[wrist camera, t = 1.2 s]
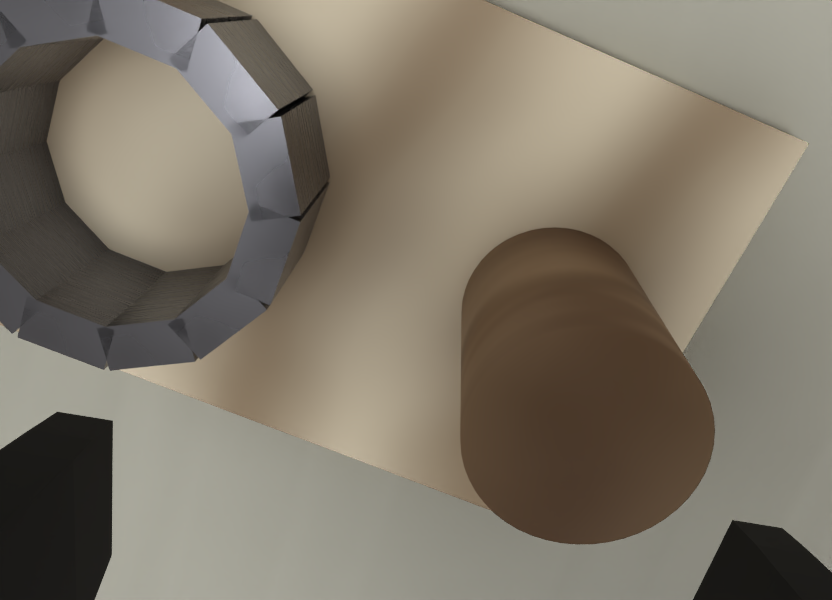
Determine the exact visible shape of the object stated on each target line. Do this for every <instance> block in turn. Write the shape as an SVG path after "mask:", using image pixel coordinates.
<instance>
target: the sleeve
mask: <svg viewBox="0 0 832 600" xmlns="http://www.w3.org/2000/svg"><path fill="white" fill-rule="evenodd" d="M251 18H252V15H250V14H248V13H245V12H243V11H241V10H238V9H236V8H234V7H231V6H229V5H227V4H224V3H222V2H220V1H217V0H0V322H1V323H2V324H3V325H4V326H5V327H6V328H7V329H8V330H9V331H10V332H11V333H14V332H15V331H16V330H18V329H19V328H20V329H19V333H18V338H21V339H24V340H26V341H29V342H32V343H34V344H37V345H40V346H42V347H45V348H48V349H50V350H53V351H56V352H58V353H61V354H64V355H66V356H69V357H71V358H74V359H77V360H79V361H82V362H85V363H87V364H90V365H93V366H95V367H98V368H101V369H103V370H104V369H105V368H106V367H107V366H109V369H110V371H111V370H120V369H130V368H140V367H150V366H159V365H169V364H179V363H189V362H195V361H196V360H197V359H198V358H199V359H200V360H201V359H202V358H204V357H205V356H206V355H208V354H209V353H210V352H212V351H213V350H214V349H216V348H217V347H218V346H220V345H221V344H222V343H224V342H225V341H226V340H228V339H229V338H230V337H232V336H233V335H234V334H236V333H237V332H238V331H240V330H241V329H242V328H244V327H245V326H246V325H248V324H249V323H250V322H252V321H253V320H254V319H256V318H257V317H258V316H259V315H261V314H262V313H263V312H265V311H266V310H267V309H268V307H269V306H270V305H271V303H272V302H273V300H274V299H275V297H276V296H277V294H278V293H279V291H280V289H281V288H282V286H283V285H284V283H285V282H286V280H287V278H288V277H289V275H290V274H291V272H292V271H293V269H294V268H295V266H296V264H297V263H298V261H299V260H300V258H301V257H302V255H303V254H304V251H305V249H306V246H307V243H308V241H309V238H310V235H311V232H312V230H313V227H314V224H315V222H316V219H317V216H318V213H319V211H320V208H321V205H322V202H323V200H324V197H325V194H326V192H327V189H328V186H329V183H330V182H327V181H328V179H329V178H330V173H329V167H328V162H327V156H326V150H325V145H324V139H323V134H322V128H321V123H320V117H319V112H318V106H317V101H316V95H313V96H306V95H307V94H308V93H310V92H311V91H312V90H313V89H312V88H311V86H310V85H309V84H308V83H307V81H306V80H305V79H304V78H303V76H302V75H301V74H300V73H299V71H298V70H297V69H296V68H295V66H294V65H293V64H292V62H291V61H290V60H289V59H288V57H287V56H286V55H285V54H284V52H283V51H282V50H281V49H280V47H279V46H278V45H277V44H276V42H275V41H274V40H273V38H272V37H271V36H270V35H269V33H268V32H267V31H266V30H265V28H264V27H263V26H262V25H261V23H260V22H259V21H258V20H257V19H255V20H251ZM103 39H107V40H109V41H111V42H114V43H116V44H119V45H121V46H123V47H126V48H128V49H131V50H133V51H135V52H138V53H140V54H143V55H145V56H147V57H150V58H152V59H155V60H157V61H159V62H162V63H164V64H167V65H169V66H172V67H174V68H176V69H177V70H178V71H179V73H180V74H181V75H182V76H183V77H184V78H185V80H186V81H187V82H188V83H189V84H190V86H191V87H192V88H193V89H194V90H195V92H196V93H197V94H198V95H199V96H200V98H201V99H202V100H203V101H204V102H205V103H206V105H207V106H208V107H209V108H210V109H211V111H212V112H213V113H214V114H215V115H216V117H217V118H218V119H219V120H220V121H221V122H222V124H223V125H224V126H225V127H226V128H227V130H228V131H229V132H230V133H231V134H232V139H233V143H234V148H235V152H236V157H237V161H238V166H239V170H240V175H241V179H242V184H243V188H244V193H245V197H246V202H247V206H248V211H249V212H248V215H247V218H246V221H245V224H244V227H243V230H242V233H241V237H240V240H239V243H238V246H237V249H236V252H235V255H234V258H232V259H231V260H230V261H229V262H227V263H226V264H225V265H221V266H212V267H203V268H195V269H186V270H178V271H169V272H166V271H163V270H161V269H158V268H156V267H153V266H151V265H148V264H145V263H143V262H140V261H138V260H135V259H133V258H130V257H128V256H125V255H122V254H120V253H117V252H115V251H112V250H110V249H109V248H108V247H107V246H106V245H105V244H104V243H103V242H102V241H101V240H100V239H99V238H98V237H97V236H96V235H95V234H94V232H93V231H92V230H91V229H90V228H89V227H88V226H87V225H86V224H85V223H84V222H83V221H82V220H81V219H80V217H79V216H78V215H77V214H76V213H75V212H74V211H73V210H72V209H71V208H70V207H69V206H68V205H67V204H66V202H65V199H64V196H63V193H62V190H61V186H60V183H59V180H58V177H57V173H56V170H55V167H54V164H53V160H52V157H51V154H50V151H49V147H48V144H47V137H48V132H49V128H50V123H51V119H52V114H53V109H54V105H55V100H56V96H57V91H58V86H59V82H60V80H61V79H62V78H63V77H64V76H65V75H66V74H67V73H68V72H69V71H70V70H72V69H73V68H74V67H75V66H76V65H77V64H78V63H79V62H80V61H81V60H82V59H83V58H84V57H85V56H86V55H87V54H88V53H89V52H90V51H91V50H93V49H94V48H95V47H96V46H97V45H98V44H99V43H100V42H101V41H102V40H103ZM305 96H306V97H305Z"/></svg>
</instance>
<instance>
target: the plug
mask: <svg viewBox="0 0 832 600" xmlns="http://www.w3.org/2000/svg"><path fill="white" fill-rule="evenodd" d="M714 434H715V428H714V416H713V412H712V408H711V403H710V401H709V398H708V396H707V393H706V391H705V389H704V387H703V385H702V384H701V382H700V380H699V379H698V377H697V375H696V374H695V372H694V371H693V369H692V367H691V366H690V364H689V363H688V361H687V359H686V358H685V356H684V355H683V353H682V351H681V350H680V348H679V347H678V345H677V343H676V342H675V340H674V338H673V337H672V335H671V334H670V332H669V330H668V329H667V327H666V326H665V324H664V322H663V321H662V319H661V318H660V316H659V314H658V313H657V311H656V310H655V308H654V306H653V305H652V303H651V301H650V300H649V298H648V297H647V295H646V293H645V292H644V290H643V289H642V287H641V285H640V284H639V282H638V281H637V279H636V277H635V276H634V274H633V272H632V271H631V269H630V268H629V266H628V264H627V263H626V262H625V260H624V259H623V258H622V257H621V256H620V254H619V253H618V252H617V251H615V250H614V249H613V248H612V247H611V246H610V245H608V244H607V243H605V242H604V241H602V240H601V239H599V238H597V237H595V236H593V235H591V234H588V233H585V232H582V231H579V230H574V229H569V228H557V227H553V228H540V229H535V230H530V231H527V232H524V233H520V234H518V235H516V236H513V237H511V238H509V239H507V240H506V241H504V242H502V243H501V244H499V245H498V246H496V247H495V248H494V249H493V250H491V251H490V252H489V253H488V254H487V255H486V256H485V257H484V258H483V259H482V260H481V261H480V263H479V264H478V266H477V267H476V268H475V270H474V271H473V273H472V275H471V277H470V279H469V281H468V283H467V286H466V289H465V292H464V296H463V300H462V312H461V409H460V444H461V455H462V460H463V464H464V468H465V471H466V473H467V476H468V479H469V481H470V482H471V484H472V486H473V488H474V490H475V492H476V493H477V494H478V496H479V497H480V498H481V499H482V501H483V502H484V503H485V504H486V505H487V506H488V507H489V508H490V509H491V510H492V511H493V512H494V513H495V514H496V515H497V516H499V517H500V518H501V519H502V520H504V521H505V522H507V523H508V524H510V525H512V526H513V527H515V528H517V529H518V530H521V531H523V532H525V533H527V534H530V535H532V536H535V537H538V538H542V539H545V540H549V541H554V542H559V543H567V544H597V543H605V542H611V541H615V540H619V539H624V538H626V537H629V536H632V535H635V534H638V533H640V532H642V531H644V530H646V529H649V528H651V527H653V526H654V525H656V524H658V523H659V522H661V521H662V520H664V519H666V518H667V517H668V516H669V515H671V514H672V513H673V512H674V511H676V510H677V509H678V508H679V507H680V506H681V505H682V504H683V503H684V502H685V501H686V500H687V499H688V498H689V497H690V495H691V494H692V493H693V491H694V490H695V489H696V487H697V486H698V484H699V483H700V481H701V479H702V477H703V476H704V474H705V472H706V469H707V467H708V464H709V462H710V459H711V455H712V450H713V446H714Z"/></svg>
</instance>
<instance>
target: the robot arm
mask: <svg viewBox="0 0 832 600" xmlns="http://www.w3.org/2000/svg"><path fill="white" fill-rule="evenodd" d="M112 441H113V421H111V420H105V419H99V418H92V417H86V416H80V415H74V414H67V413H61V412H56V413H55V414H53V415H52V416H50V417H49V418H47V419H46V420H44V421H43V422H41V423H40V424H38V425H36V426H35V427H33V428H32V429H30V430H29V431H27V432H26V433H24V434H23V435H21V436H20V437H18V438H17V439H15V440H14V441H12V442H11V443H9V444H8V445H6V446H5V447H4V448H2V449H1V450H0V600H95V597H96V594H97V592H98V589H99V587H100V584H101V582H102V579H103V576H104V574H105V571H106V569H107V566H108V563H109V561H110V558H111V556H112ZM693 600H832V572H831V571H830V570H828V569H827V568H826V567H825V566H824V565H823V564H822V563H821V562H820V561H819V560H818V559H817V558H816V557H814V556H813V555H812V554H811V553H810V552H809V551H808V550H807V549H806V548H805V547H803V546H802V545H801V544H800V543H799V542H798V541H797V540H795V539H794V538H793V537H792V536H791V535H790V534H788V533H787V532H786V531H785V530H784V529H782V528H778V527H772V526H765V525H759V524H753V523H747V522H740V521H734V520H732V522H731V524H730V526H729V528H728V530H727V532H726V534H725V536H724V538H723V540H722V542H721V544H720V546H719V548H718V550H717V552H716V554H715V556H714V558H713V561H712V563H711V565H710V567H709V569H708V571H707V573H706V575H705V577H704V579H703V581H702V583H701V585H700V587H699V589H698V591H697V593H696V595H695V597H694V599H693Z"/></svg>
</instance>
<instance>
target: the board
mask: <svg viewBox="0 0 832 600" xmlns="http://www.w3.org/2000/svg"><path fill="white" fill-rule="evenodd" d="M217 1H220V2H222V3H224V4H227V5H229V6H231V7H234V8H236V9H238V10H241V11H243V12H245V13H248V14H250V15H252V18H251V20H255V19H257V20H258V21H259V22H260V23H261V25H262V26H263V27H264V28H265V30H266V31H267V32H268V33H269V35H270V36H271V37H272V38H273V40H274V41H275V42H276V44H277V45H278V46H279V47H280V49H281V50H282V51H283V52H284V54H285V55H286V56H287V57H288V59H289V60H290V61H291V62H292V64H293V65H294V66H295V68H296V69H297V70H298V71H299V73H300V74H301V75H302V76H303V78H304V79H305V80H306V81H307V83H308V84H309V85H310V86H311V88H312V89H313V90H312V91H311V92H310V93H308V94H307V95H306V96H313V95H316V101H317V106H318V112H319V117H320V123H321V128H322V134H323V139H324V145H325V150H326V156H327V162H328V167H329V173H330V178H329V179H328V181H327V182H330V183H329V186H328V189H327V192H326V194H325V197H324V200H323V202H322V205H321V208H320V211H319V213H318V216H317V219H316V222H315V224H314V227H313V230H312V232H311V235H310V238H309V241H308V243H307V246H306V249H305V251H304V254H303V255H302V257H301V258H300V260H299V261H298V263H297V264H296V266H295V268H294V269H293V271H292V272H291V274H290V275H289V277H288V278H287V280H286V282H285V283H284V285H283V286H282V288H281V289H280V291H279V293H278V294H277V296H276V297H275V299H274V300H273V302H272V303H271V305H270V306H269V307H268V309H267V310H266V311H265V312H263V313H262V314H261V315H259V316H258V317H257V318H256V319H254V320H253V321H252V322H250V323H249V324H248V325H246V326H245V327H244V328H242V329H241V330H240V331H238V332H237V333H236V334H234V335H233V336H232V337H230V338H229V339H228V340H226V341H225V342H224V343H222V344H221V345H220V346H218V347H217V348H216V349H214V350H213V351H212V352H210V353H209V354H208V355H206V356H205V357H204V358H202V359H201V360H200V359H199V358H198V359H197V360H196V361H195V362H189V363H179V364H169V365H159V366H150V367H140V368H130V369H120V370H121V371H124V372H126V373H129V374H131V375H134V376H137V377H139V378H142V379H145V380H147V381H150V382H153V383H155V384H158V385H161V386H163V387H166V388H168V389H171V390H174V391H176V392H179V393H182V394H184V395H187V396H190V397H192V398H195V399H198V400H200V401H203V402H206V403H208V404H211V405H213V406H216V407H219V408H221V409H224V410H227V411H229V412H232V413H235V414H237V415H240V416H243V417H245V418H248V419H250V420H253V421H256V422H258V423H261V424H264V425H266V426H269V427H272V428H274V429H277V430H280V431H282V432H285V433H288V434H290V435H293V436H295V437H298V438H301V439H303V440H306V441H309V442H311V443H314V444H317V445H319V446H322V447H325V448H327V449H330V450H332V451H335V452H338V453H340V454H343V455H346V456H348V457H351V458H354V459H356V460H359V461H362V462H364V463H367V464H370V465H372V466H375V467H377V468H380V469H383V470H385V471H388V472H391V473H393V474H396V475H399V476H401V477H404V478H407V479H409V480H412V481H414V482H417V483H420V484H422V485H425V486H428V487H430V488H433V489H436V490H438V491H441V492H444V493H446V494H449V495H451V496H454V497H457V498H459V499H462V500H465V501H467V502H470V503H473V504H475V505H478V506H481V507H483V508H486V509H489V510H491V509H490V508H489V507H488V506H487V505H486V504H485V503H484V502H483V501H482V499H481V498H480V497H479V496H478V494H477V493H476V492H475V490H474V488H473V486H472V484H471V482H470V481H469V479H468V476H467V473H466V471H465V468H464V464H463V460H462V455H461V444H460V409H461V312H462V300H463V296H464V292H465V289H466V286H467V283H468V281H469V279H470V277H471V275H472V273H473V271H474V270H475V268H476V267H477V266H478V264H479V263H480V261H481V260H482V259H483V258H484V257H485V256H486V255H487V254H488V253H489V252H490V251H491V250H493V249H494V248H495V247H496V246H498V245H499V244H501V243H502V242H504V241H506V240H507V239H509V238H511V237H513V236H516V235H518V234H520V233H524V232H527V231H530V230H535V229H540V228H553V227H557V228H569V229H574V230H579V231H582V232H585V233H588V234H591V235H593V236H595V237H597V238H599V239H601V240H602V241H604V242H605V243H607V244H608V245H610V246H611V247H612V248H613V249H614V250H615V251H617V252H618V253H619V254H620V256H621V257H622V258H623V259H624V260H625V262H626V263H627V264H628V266H629V268H630V269H631V271H632V272H633V274H634V276H635V277H636V279H637V281H638V282H639V284H640V285H641V287H642V289H643V290H644V292H645V293H646V295H647V297H648V298H649V300H650V301H651V303H652V305H653V306H654V308H655V310H656V311H657V313H658V314H659V316H660V318H661V319H662V321H663V322H664V324H665V326H666V327H667V329H668V330H669V332H670V334H671V335H672V337H673V338H674V340H675V342H676V343H677V345H678V347H679V348H680V350H681V351H682V353H683V352H684V350H685V349H686V347H687V345H688V344H689V342H690V340H691V339H692V337H693V335H694V334H695V332H696V330H697V329H698V327H699V325H700V324H701V322H702V320H703V319H704V317H705V315H706V314H707V312H708V310H709V309H710V307H711V305H712V304H713V302H714V300H715V299H716V297H717V295H718V294H719V292H720V291H721V289H722V287H723V286H724V284H725V282H726V281H727V279H728V277H729V276H730V274H731V272H732V271H733V269H734V267H735V266H736V264H737V262H738V261H739V259H740V257H741V256H742V254H743V252H744V251H745V249H746V247H747V246H748V244H749V242H750V241H751V239H752V237H753V236H754V234H755V232H756V231H757V229H758V227H759V226H760V224H761V222H762V221H763V219H764V217H765V216H766V214H767V213H768V211H769V209H770V208H771V206H772V204H773V203H774V201H775V199H776V198H777V196H778V194H779V193H780V191H781V189H782V188H783V186H784V184H785V183H786V181H787V179H788V178H789V176H790V174H791V173H792V171H793V169H794V168H795V166H796V164H797V163H798V161H799V159H800V158H801V156H802V154H803V153H804V151H805V149H806V148H807V146H808V144H809V143H807V142H805V141H803V140H800V139H798V138H796V137H794V136H791V135H789V134H787V133H785V132H782V131H780V130H778V129H775V128H773V127H771V126H769V125H766V124H764V123H762V122H760V121H757V120H755V119H753V118H750V117H748V116H746V115H744V114H741V113H739V112H737V111H735V110H732V109H730V108H728V107H725V106H723V105H721V104H719V103H716V102H714V101H712V100H710V99H707V98H705V97H703V96H700V95H698V94H696V93H694V92H691V91H689V90H687V89H685V88H682V87H680V86H678V85H675V84H673V83H671V82H669V81H666V80H664V79H662V78H660V77H657V76H655V75H653V74H650V73H648V72H646V71H644V70H641V69H639V68H637V67H635V66H632V65H630V64H628V63H625V62H623V61H621V60H619V59H616V58H614V57H612V56H610V55H607V54H605V53H603V52H600V51H598V50H596V49H594V48H591V47H589V46H587V45H585V44H582V43H580V42H578V41H575V40H573V39H571V38H569V37H566V36H564V35H562V34H560V33H557V32H555V31H553V30H550V29H548V28H546V27H544V26H541V25H539V24H537V23H535V22H532V21H530V20H528V19H525V18H523V17H521V16H519V15H516V14H514V13H512V12H510V11H507V10H505V9H503V8H500V7H498V6H496V5H494V4H491V3H489V2H487V1H484V0H217ZM306 96H305V97H306ZM47 144H48V147H49V151H50V154H51V157H52V160H53V164H54V167H55V170H56V173H57V177H58V180H59V183H60V186H61V190H62V193H63V196H64V199H65V202H66V204H67V205H68V206H69V207H70V208H71V209H72V210H73V211H74V212H75V213H76V214H77V215H78V216H79V217H80V219H81V220H82V221H83V222H84V223H85V224H86V225H87V226H88V227H89V228H90V229H91V230H92V231H93V232H94V234H95V235H96V236H97V237H98V238H99V239H100V240H101V241H102V242H103V243H104V244H105V245H106V246H107V247H108V248H109V249H110V250H112V251H115V252H117V253H120V254H122V255H125V256H128V257H130V258H133V259H135V260H138V261H140V262H143V263H145V264H148V265H151V266H153V267H156V268H158V269H161V270H163V271H166V272H169V271H178V270H186V269H195V268H203V267H212V266H221V265H225V264H226V263H227V262H229V261H230V260H231V259H232V258H234V255H235V252H236V249H237V246H238V243H239V240H240V237H241V233H242V230H243V227H244V224H245V221H246V218H247V215H248V212H249V211H248V206H247V202H246V197H245V193H244V188H243V184H242V179H241V175H240V170H239V166H238V161H237V157H236V152H235V148H234V143H233V139H232V134H231V133H230V132H229V131H228V130H227V128H226V127H225V126H224V125H223V124H222V122H221V121H220V120H219V119H218V118H217V117H216V115H215V114H214V113H213V112H212V111H211V109H210V108H209V107H208V106H207V105H206V103H205V102H204V101H203V100H202V99H201V98H200V96H199V95H198V94H197V93H196V92H195V90H194V89H193V88H192V87H191V86H190V84H189V83H188V82H187V81H186V80H185V78H184V77H183V76H182V75H181V74H180V73H179V71H178V70H177V69H176V68H174V67H172V66H169V65H167V64H164V63H162V62H159V61H157V60H155V59H152V58H150V57H147V56H145V55H143V54H140V53H138V52H135V51H133V50H131V49H128V48H126V47H123V46H121V45H119V44H116V43H114V42H111V41H109V40H107V39H103V40H102V41H101V42H100V43H99V44H98V45H97V46H96V47H95V48H94V49H93V50H91V51H90V52H89V53H88V54H87V55H86V56H85V57H84V58H83V59H82V60H81V61H80V62H79V63H78V64H77V65H76V66H75V67H74V68H73V69H72V70H70V71H69V72H68V73H67V74H66V75H65V76H64V77H63V78H62V79H61V80H60V82H59V86H58V91H57V96H56V100H55V105H54V109H53V114H52V119H51V123H50V128H49V132H48V137H47ZM0 325H2V326H4V325H3V324H2V323H1V322H0ZM19 329H20V328H19ZM19 329H18V330H16V331H18V332H19ZM491 511H492V510H491Z"/></svg>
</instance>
